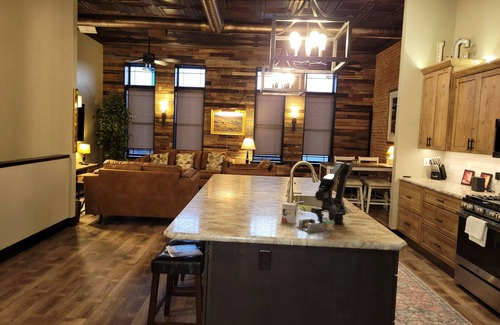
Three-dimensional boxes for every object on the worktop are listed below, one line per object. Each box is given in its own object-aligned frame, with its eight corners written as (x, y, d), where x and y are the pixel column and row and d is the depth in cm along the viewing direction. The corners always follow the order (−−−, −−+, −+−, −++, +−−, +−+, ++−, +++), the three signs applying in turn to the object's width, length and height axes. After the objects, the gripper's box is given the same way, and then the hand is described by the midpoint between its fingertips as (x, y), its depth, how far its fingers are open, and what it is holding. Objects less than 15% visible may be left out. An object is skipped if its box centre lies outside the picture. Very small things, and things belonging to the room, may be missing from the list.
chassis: (296, 227, 224) (297, 219, 224) (312, 226, 229) (312, 218, 228) (309, 233, 212) (310, 224, 211) (325, 232, 216) (326, 223, 216)
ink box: (281, 221, 237) (281, 203, 237) (283, 220, 242) (284, 202, 241) (294, 223, 234) (295, 204, 233) (296, 221, 239) (297, 203, 238)
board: (317, 220, 228) (317, 216, 228) (325, 220, 231) (325, 216, 231) (326, 224, 220) (326, 220, 220) (334, 223, 223) (334, 219, 222)
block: (319, 226, 229) (319, 220, 228) (323, 226, 230) (323, 220, 230) (327, 229, 221) (327, 224, 221) (331, 229, 223) (331, 223, 222)
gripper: (321, 201, 213) (320, 228, 214) (348, 200, 221) (346, 226, 222) (311, 198, 223) (309, 224, 224) (336, 197, 231) (335, 222, 232)
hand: (325, 224), depth 225 cm, fingers closed on board, 6 cm apart
